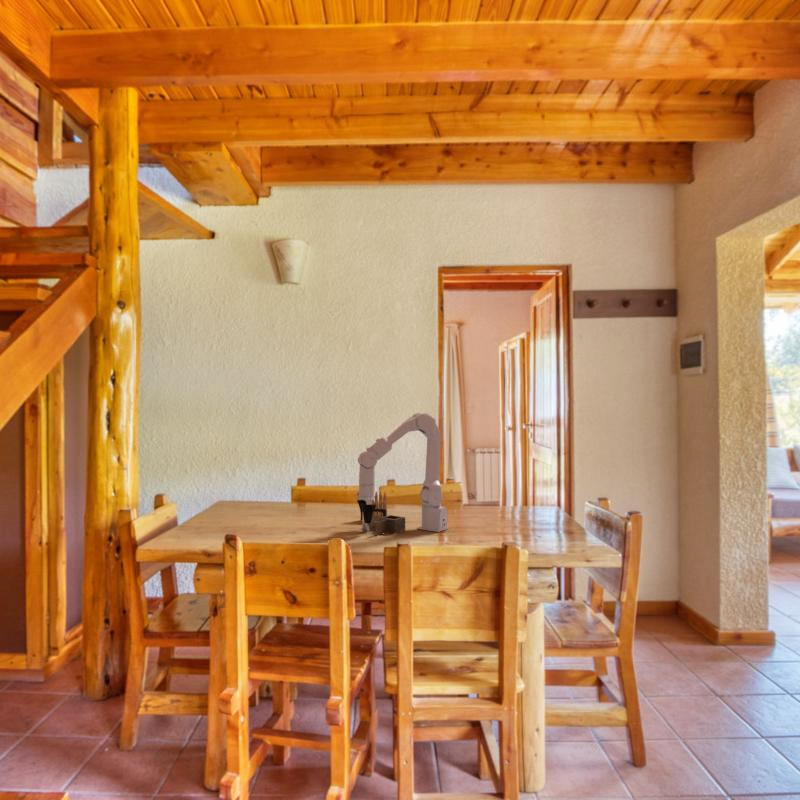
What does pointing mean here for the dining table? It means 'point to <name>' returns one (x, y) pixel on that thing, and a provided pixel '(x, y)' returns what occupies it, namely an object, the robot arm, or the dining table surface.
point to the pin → (365, 526)
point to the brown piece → (387, 524)
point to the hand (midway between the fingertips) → (366, 521)
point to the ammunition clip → (380, 505)
